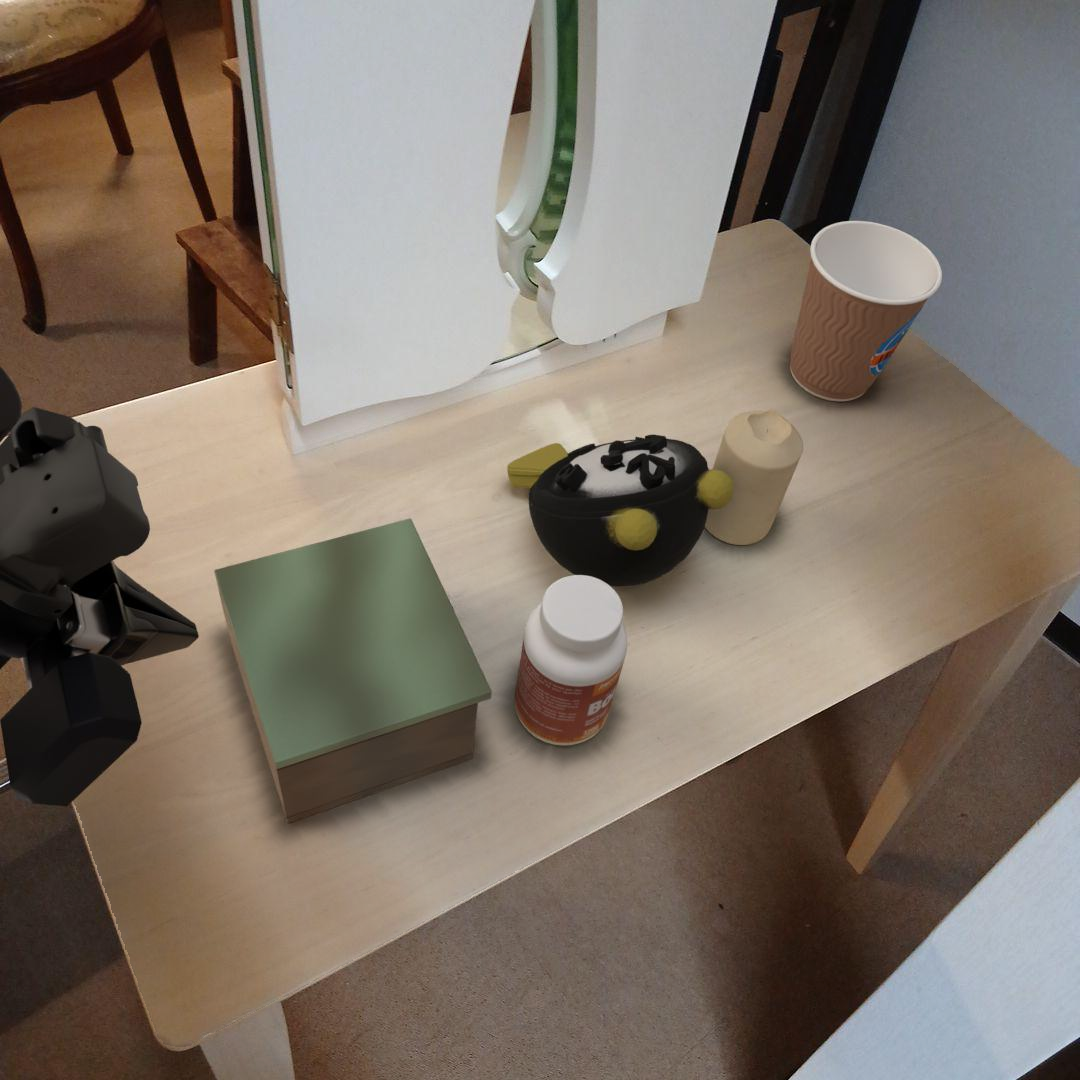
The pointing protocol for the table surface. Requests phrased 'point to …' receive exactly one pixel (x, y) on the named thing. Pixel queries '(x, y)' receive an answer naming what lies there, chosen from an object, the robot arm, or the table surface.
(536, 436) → the table surface
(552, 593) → the pill bottle
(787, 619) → the table surface
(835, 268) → the coffee cup
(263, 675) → the lid
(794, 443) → the candle
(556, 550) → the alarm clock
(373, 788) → the chest
